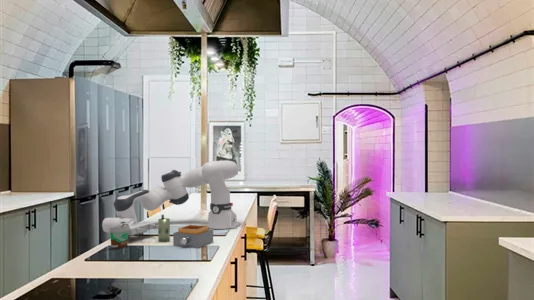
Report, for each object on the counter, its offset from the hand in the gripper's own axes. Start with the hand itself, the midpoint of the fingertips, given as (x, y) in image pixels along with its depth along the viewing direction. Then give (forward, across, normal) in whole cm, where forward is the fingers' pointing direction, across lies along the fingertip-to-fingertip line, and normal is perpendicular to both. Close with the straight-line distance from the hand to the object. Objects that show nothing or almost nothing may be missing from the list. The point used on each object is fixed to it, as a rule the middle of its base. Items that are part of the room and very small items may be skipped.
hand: (152, 229), depth 228 cm
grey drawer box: (+24, +1, -5) cm, 25 cm away
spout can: (+7, 0, -6) cm, 9 cm away
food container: (-4, +18, -6) cm, 19 cm away
